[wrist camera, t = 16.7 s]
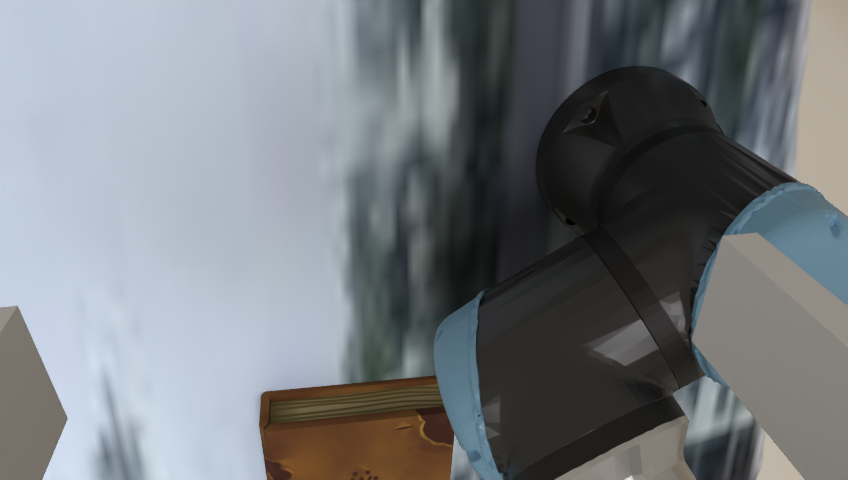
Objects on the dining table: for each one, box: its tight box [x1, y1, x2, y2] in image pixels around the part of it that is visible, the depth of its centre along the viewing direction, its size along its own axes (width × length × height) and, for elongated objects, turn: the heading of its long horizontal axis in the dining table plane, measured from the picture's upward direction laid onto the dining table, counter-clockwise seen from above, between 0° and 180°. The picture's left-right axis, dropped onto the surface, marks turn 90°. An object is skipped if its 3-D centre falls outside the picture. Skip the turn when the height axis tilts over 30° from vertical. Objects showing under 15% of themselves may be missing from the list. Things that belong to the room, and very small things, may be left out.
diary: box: [259, 376, 454, 480], centre depth 66 cm, size 23×19×6 cm
